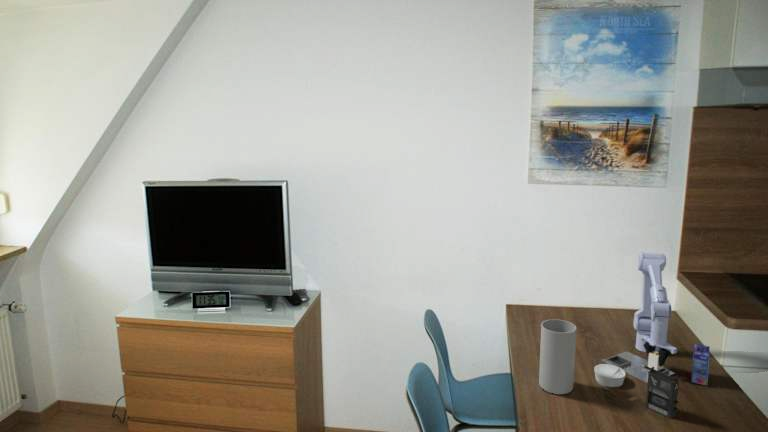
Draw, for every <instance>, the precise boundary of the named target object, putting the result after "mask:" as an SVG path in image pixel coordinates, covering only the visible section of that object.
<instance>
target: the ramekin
mask: <svg viewBox="0 0 768 432" xmlns="http://www.w3.org/2000/svg"><path fill="white" fill-rule="evenodd" d="M593 368H594V369H593V371H594V376H595V377H594V378H595V381H596V382H597V384H598V385H600V386H602V388H603V387H604V388H606V389H608V388H609V387H610V388H618V387H621V386H623V384H624V381H625V378H626V375H627V374H626V372H625V371H624V370H623V369H621V368H620V367H617V366H615V365H611V364H608V363H600V364H597V365H595V366H594V367H593Z"/></svg>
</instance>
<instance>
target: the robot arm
mask: <svg viewBox="0 0 768 432" xmlns="http://www.w3.org/2000/svg"><path fill="white" fill-rule="evenodd" d="M666 265H667V257H666V255H665V254H664V253H653V252H652V253H650V252H649V253H648V252H640V253H638V257H637V268H638V269H637V270H638V271H640V272H642V273H641V274H642V292H641V309H638V310H637V311H635V312H634V316H633V324H632V325H633V328H634V330H635V331H636V336H635V337H636V339H635V349H636V350H638V351H640V352H644V353H646V355H647V358H648V357H649V353H650V352H653V351H658V353H659V366H663V365H664V366H665V363H666V361H667V359H668V357H669V356H670V354H672V355H675V354H677V353H678V348H677V347H675V346H673V345H672V344H670V343H668V342H667V339H668V338H667V337H668V328H669V319H670V318H671V317H672V311H673V310H672V303H671V302H670V300H669V299H668V294H667V288H666V287H665V286H664V285H663V279H662V278H663V277H662V275H663V274H662V272H663V271H664V269H665V268H666Z"/></svg>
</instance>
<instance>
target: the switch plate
mask: <svg viewBox="0 0 768 432" xmlns="http://www.w3.org/2000/svg"><path fill="white" fill-rule="evenodd" d="M601 361H602V362H603V363H605V364H611V365H615V366H617V367H620V368H621V369H623V370H624V371H625V373H627V374H628V375H630V376H632V377H634V378H636V379H639V380H641V381H642V382H644V383H646V384H648V372H649V371H650V370H651V368H649V367H648V359H645V358H643V357H640V356H639V355H636V354H633V353H632V352H630V351H623V352H621V353H618V354H615V355H612V356H608V357H606V358H603V359H601ZM658 372H661V373H663V374H666V375H669V376H671V375H674V374H676V373H675V372H674V371H672V370H670V369H668V368H665V366H664V367H663V369H661V370H658Z"/></svg>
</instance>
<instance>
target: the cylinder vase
mask: <svg viewBox="0 0 768 432" xmlns="http://www.w3.org/2000/svg"><path fill="white" fill-rule="evenodd" d="M540 325H541V327H540V346H539V349H540V350H539V372H538V374H539V375H538V385H539V387H540V388H541V389H542V390H543V389H544V390H543V391H545V392H546V393H550V394H552V393H553V395H566V394H567V395H568V394H569V393H572V391H573V389H574V379H575V378H574V377H575V376H574V375H575V362H576V361H575V358H576V345H577V344H576V340H577V326H576V325H575V323H572V322H570V321H567V320H563V319H558V318H557V319H553V318H552V319H546V320H543V321H542V322H541V324H540Z"/></svg>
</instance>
